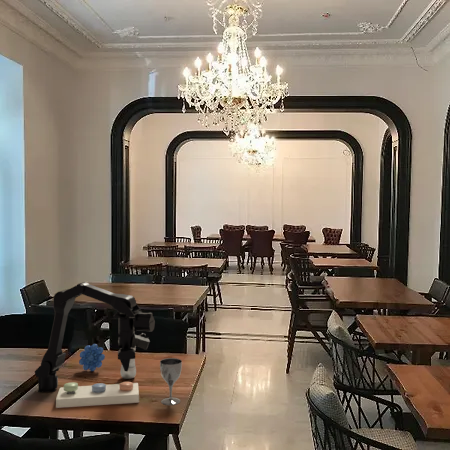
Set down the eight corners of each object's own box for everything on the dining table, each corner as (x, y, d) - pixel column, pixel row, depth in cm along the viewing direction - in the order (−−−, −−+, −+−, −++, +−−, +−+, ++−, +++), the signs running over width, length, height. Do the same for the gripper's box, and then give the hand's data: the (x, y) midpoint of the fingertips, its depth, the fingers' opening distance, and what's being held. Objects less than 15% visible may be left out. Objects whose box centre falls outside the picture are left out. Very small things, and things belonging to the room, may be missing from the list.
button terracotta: (119, 398, 188) (119, 386, 188) (119, 393, 193) (119, 382, 193) (133, 397, 189) (133, 386, 189) (132, 392, 194) (132, 381, 194)
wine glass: (182, 397, 191) (182, 357, 191) (180, 405, 183) (181, 364, 183) (160, 397, 191) (161, 357, 190) (158, 405, 183) (159, 364, 182)
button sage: (63, 399, 184) (63, 387, 184) (64, 394, 189) (64, 382, 189) (77, 398, 185) (77, 386, 185) (78, 393, 190) (78, 382, 190)
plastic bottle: (121, 381, 208) (121, 332, 207) (119, 375, 214) (120, 328, 213) (136, 380, 209) (137, 332, 208) (135, 374, 216) (135, 328, 215)
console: (56, 407, 180) (56, 399, 180) (60, 395, 192) (60, 387, 192) (138, 402, 186) (138, 394, 186) (137, 390, 198) (137, 382, 198)
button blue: (91, 400, 186) (91, 388, 186) (92, 395, 191) (92, 383, 191) (105, 399, 187) (105, 387, 187) (106, 394, 192) (106, 382, 192)
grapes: (108, 368, 223) (108, 341, 222) (102, 373, 216) (102, 346, 216) (83, 367, 225) (83, 340, 224) (76, 372, 218) (76, 344, 217)
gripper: (149, 335, 182) (149, 378, 183) (147, 323, 201) (146, 362, 201) (117, 336, 180) (117, 380, 181) (118, 324, 198) (118, 363, 199)
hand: (126, 371), depth 190 cm, fingers closed
